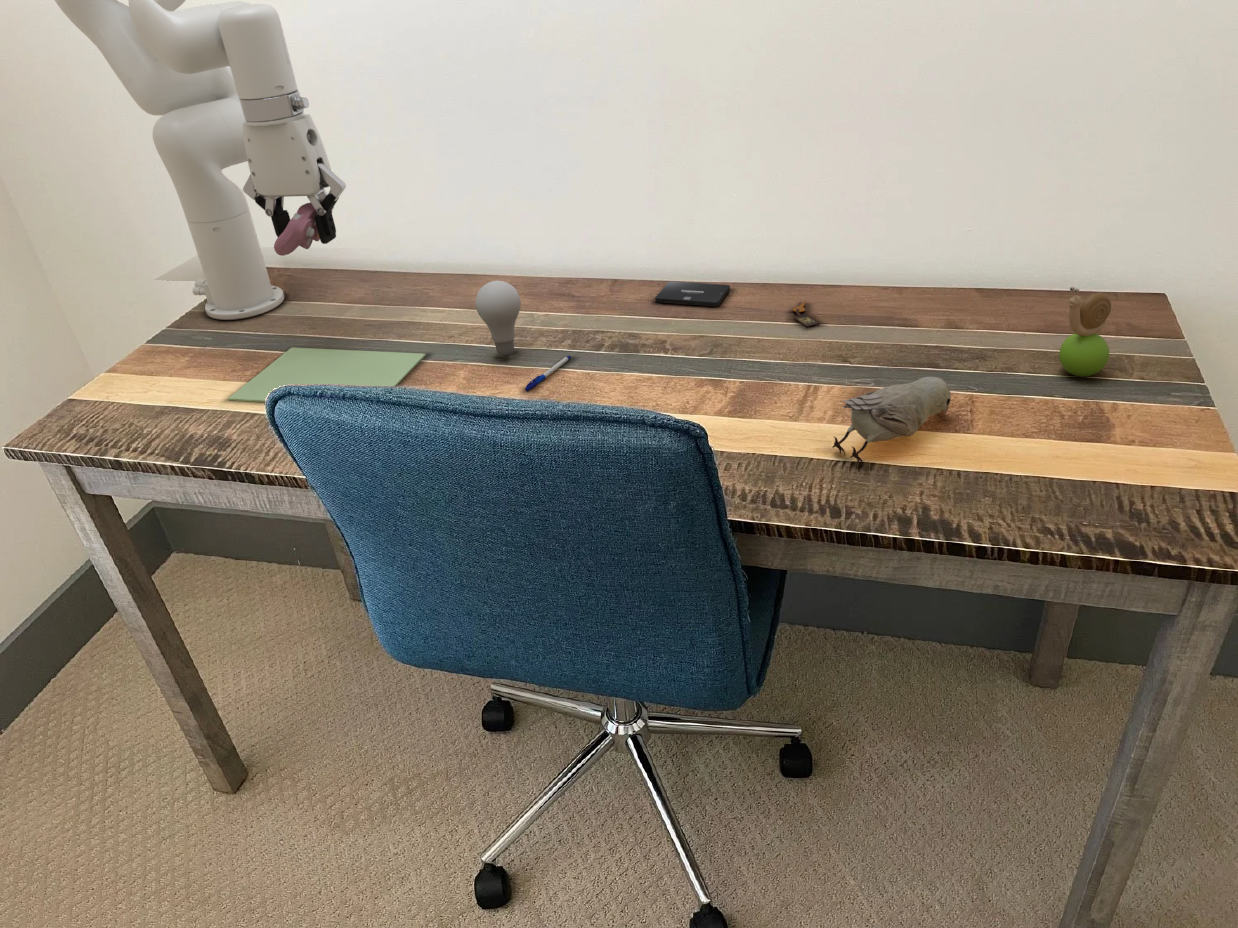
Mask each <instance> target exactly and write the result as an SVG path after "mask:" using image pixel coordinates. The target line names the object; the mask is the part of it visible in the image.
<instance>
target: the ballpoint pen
mask: <svg viewBox="0 0 1238 928" xmlns="http://www.w3.org/2000/svg"><path fill="white" fill-rule="evenodd" d="M571 358H572V357H571V355H567V356H565V357H563V358H562V359H560V361H558V362H557V363H555V364H554V365H553V366H551V367H550V368H549V369H548V370H546V371H545V372H543V373H542V374H540V375H537V376H536V377H534V378H533V379H532V380H531V381H529V382H528V383H527V384H526V386H525V388H524V391H525V392H527V393H529V392H530V391H531V390H533V389H535V387H537V386H538V385H540V384H541V383H542V382H543V381H544V380H545V379H547V378H548V377H550V375H552V374H553V373H554V372H556V371H557V370H558V369H559V368H561V367H562V366H564V365H565V364H566V363H567V362H568V361H570V359H571Z"/></svg>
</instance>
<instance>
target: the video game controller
mask: <svg viewBox="0 0 1238 928" xmlns="http://www.w3.org/2000/svg"><path fill="white" fill-rule="evenodd" d="M331 212H332V213H333V209H332V210H331ZM316 215H318V213H317V212H316V210H315V209H314V207H313V205H312V204H311V202H310V201H309V202H306V203H304V204H302V205H300V206H299V208H297V211H296V212H295V213H294V214H293V216H292V218H290V221H289V223H288V225H287V227H286V229H285V230H284V232H283V233H282V234H281V235H280V236H279V237H276V240H275V241H274V245H273V248H274V252H275V253H276V254H277V255H278V256H280V257H283V256H288V255H290V254H292V253H293V252H294V251H296V249H297V248H299V247H301V248H303V249H305V250H309V248H310V247H311V246H312V243H313V241H314V242H319V241H320V237H319V233H318V229H317V225H316V222H315V216H316Z"/></svg>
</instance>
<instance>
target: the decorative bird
mask: <svg viewBox="0 0 1238 928" xmlns="http://www.w3.org/2000/svg"><path fill="white" fill-rule="evenodd" d="M951 400H952V395H951V390H950V387H949V385H948V383H947V382H946V381H945V380H944V379H942V378H941V377H938V376H925V377H922V378H919V379H916V380H915V381H913V382H907V383H901V384H900V383H899V384H892V385H888V386H885V387H882V388H879V389H877V390H874V391H869V392H866V393H865V394H863V395H858V396H857V397H853V398H849V399H846V400H841V401H839V402H840V403H845V405H843V406H842V408H843V409H849V412H851V415H850V422H851V424H850V426H849V427H848V428H847V431H846V432H845V434H844V436H843V437H842V439H840V440H838V438H837V437H836V436H835V435H833V436H832V437H833V438H834V442H833V445H832V447H831V448H832V449H833V448H836V449H838V451H839V454H841V453H842V452H843V454H844V455H846V452H845V449H844V448H843V446H841V444H842V443H843V442H844V441H846V439H847V438H848V437H849V435H850V434H851V433H852V432H854V431H856V433H857V434H859V436H860V437H861V438H863V439H864V440H865V441H864V443H863V444H862V447H861V448H860V449H858V450H857V449H856V448H855V447H854V446H851V448H852V453H851V455H850V456H849V459H851V458H854V459H856V461H857V465H859V464H860V462H861V464H862V467H864V466H865V465H864V462H863V461H864V460H863V458H861V457H860V455H859V454H861V453H862V452H863V451H864V450H865V448H866V447H867V445H868V444H869V443H878V442H885V441H890V440H894V439H898V438H901V437H906V438H908V437H911V436H913V435H914V434H915V433H916V432H917V431H918V430H919V429H920V428H921V426H922V425H924V423H926V422H927V421H928V420H929V417H930V416H932V415H935V416H937V417H939V418H943V417H945V416H946V413H947V412H948V411H949V407H950V405H951Z"/></svg>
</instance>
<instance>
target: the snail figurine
mask: <svg viewBox="0 0 1238 928" xmlns="http://www.w3.org/2000/svg"><path fill="white" fill-rule="evenodd" d="M1069 291H1070V295H1071V296H1070V297H1069V299H1068V306H1069V309H1068V320H1069V321H1068V322H1069V326H1070V329H1071V331H1072V332H1073V333H1072V334H1071V335H1069V336H1068V337H1066V338H1065V340H1064V341H1063V342H1062V344H1061V345H1060V348H1059V352H1058V356H1059V362H1060V365H1061V366H1062V367H1063V369H1064V370H1065V371H1066V372H1067V373H1069V374H1071V375H1073V376H1076V377H1081V378H1082V377H1090V376H1094V375H1096V374H1097V373H1099V372H1101V371H1102V370H1103V369H1104V368H1105V366H1106V365H1107V363H1108V361H1109V358H1110V348H1109V345H1108V342H1107V341H1106V340H1105V338H1104V337H1102V336H1101V335H1100V334H1098V333H1099V332H1101V330H1102V329H1104V327H1105V325H1106V323H1107V319H1108V318H1109V316H1110V314H1111V311H1112V301H1111V298H1110V297H1109V295H1107V294H1106V293H1103V292H1096V293H1093V294H1091V295H1089V296H1087V297H1086V298H1085V299H1084V300H1083V301H1082V297H1081V296H1079V295H1078V294H1079V293H1080V289H1079V288H1078V287H1077V288H1075V286H1070V287H1069ZM1073 292H1074V293H1075V295H1072V293H1073Z"/></svg>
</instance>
